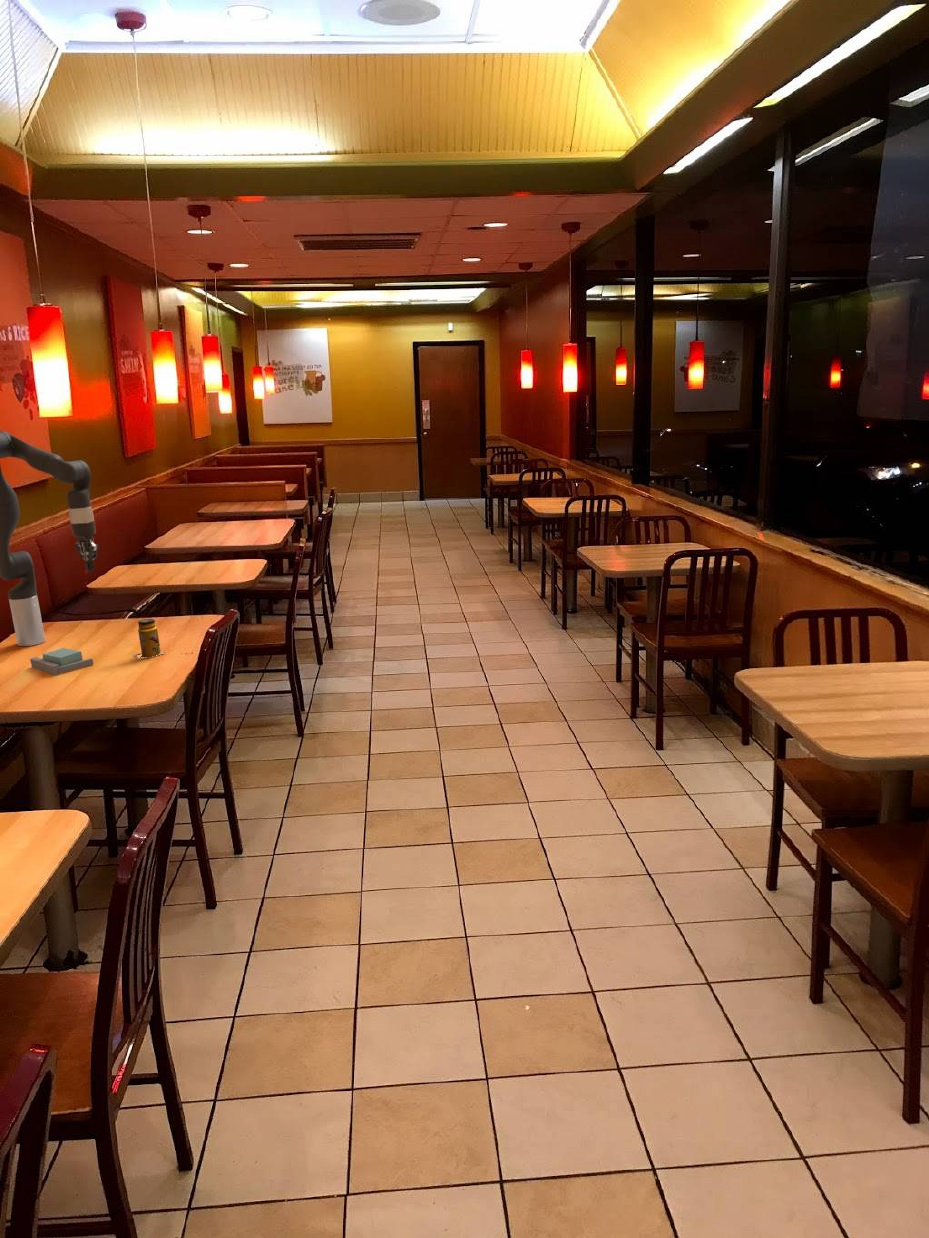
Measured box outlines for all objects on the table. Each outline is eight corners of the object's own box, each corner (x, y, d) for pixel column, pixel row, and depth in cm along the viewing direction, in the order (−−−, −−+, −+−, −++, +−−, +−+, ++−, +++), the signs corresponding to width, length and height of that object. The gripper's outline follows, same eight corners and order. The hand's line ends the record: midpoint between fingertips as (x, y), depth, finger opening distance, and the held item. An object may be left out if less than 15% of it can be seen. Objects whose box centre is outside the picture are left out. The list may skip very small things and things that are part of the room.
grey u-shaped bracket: (31, 667, 304) (30, 658, 303) (70, 657, 313) (68, 648, 312) (54, 675, 293) (52, 666, 292) (93, 664, 302) (92, 655, 301)
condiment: (164, 654, 308) (159, 620, 305) (138, 660, 304) (133, 625, 301) (158, 650, 314) (153, 616, 311) (133, 655, 310) (127, 621, 307)
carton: (45, 668, 302) (42, 654, 301) (65, 662, 308) (63, 647, 307) (63, 672, 296) (60, 657, 295) (83, 665, 302) (81, 651, 301)
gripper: (62, 521, 314) (71, 571, 318) (80, 523, 305) (89, 575, 309) (83, 518, 319) (91, 567, 323) (102, 520, 310) (110, 570, 315)
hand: (90, 571), depth 316 cm, fingers closed
